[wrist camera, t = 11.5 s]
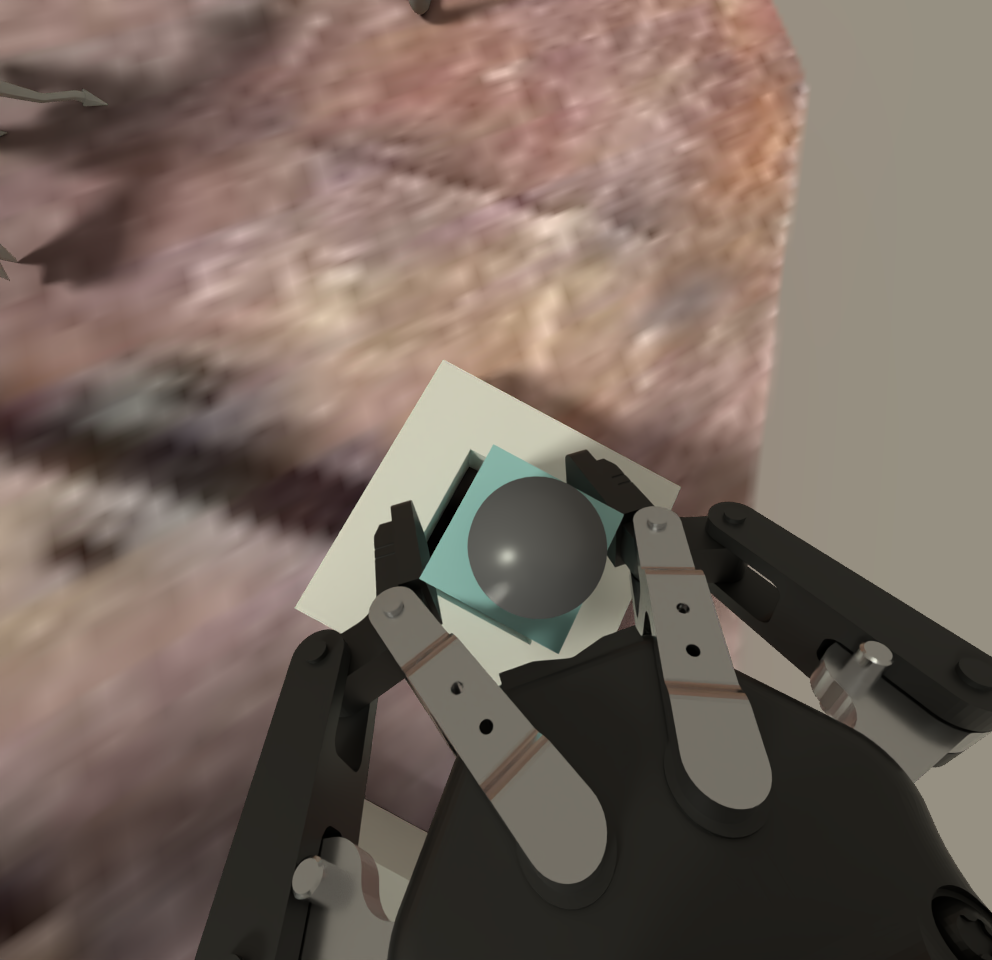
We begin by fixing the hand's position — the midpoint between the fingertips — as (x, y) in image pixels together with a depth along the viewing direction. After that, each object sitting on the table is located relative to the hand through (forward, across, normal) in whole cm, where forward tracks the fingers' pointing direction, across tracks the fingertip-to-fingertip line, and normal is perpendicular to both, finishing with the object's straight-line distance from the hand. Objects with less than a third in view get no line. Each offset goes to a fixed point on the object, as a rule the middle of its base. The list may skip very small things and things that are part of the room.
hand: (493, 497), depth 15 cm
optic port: (+4, 0, +6) cm, 7 cm away
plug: (+2, 0, +4) cm, 5 cm away
